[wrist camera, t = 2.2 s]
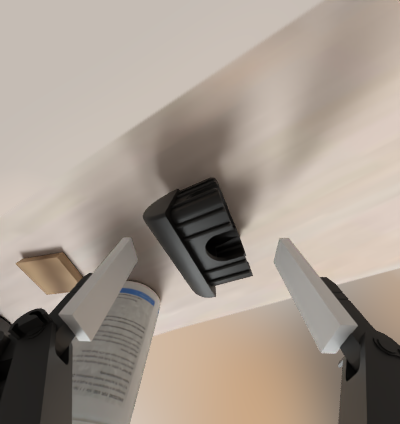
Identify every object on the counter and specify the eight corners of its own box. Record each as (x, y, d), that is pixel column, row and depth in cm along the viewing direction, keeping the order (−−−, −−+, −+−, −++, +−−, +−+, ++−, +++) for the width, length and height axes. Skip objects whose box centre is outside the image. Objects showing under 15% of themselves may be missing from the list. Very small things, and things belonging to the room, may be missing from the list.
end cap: (156, 196, 17) (129, 228, 11) (213, 171, 16) (217, 192, 10) (193, 257, 21) (187, 305, 15) (241, 241, 20) (257, 288, 14)
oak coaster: (52, 289, 25) (46, 294, 25) (22, 258, 22) (15, 263, 22) (88, 284, 25) (84, 290, 24) (63, 252, 22) (56, 257, 21)
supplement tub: (95, 282, 24) (-36, 453, 11) (148, 273, 23) (69, 457, 10) (123, 316, 28) (52, 470, 15) (170, 310, 27) (135, 475, 14)
